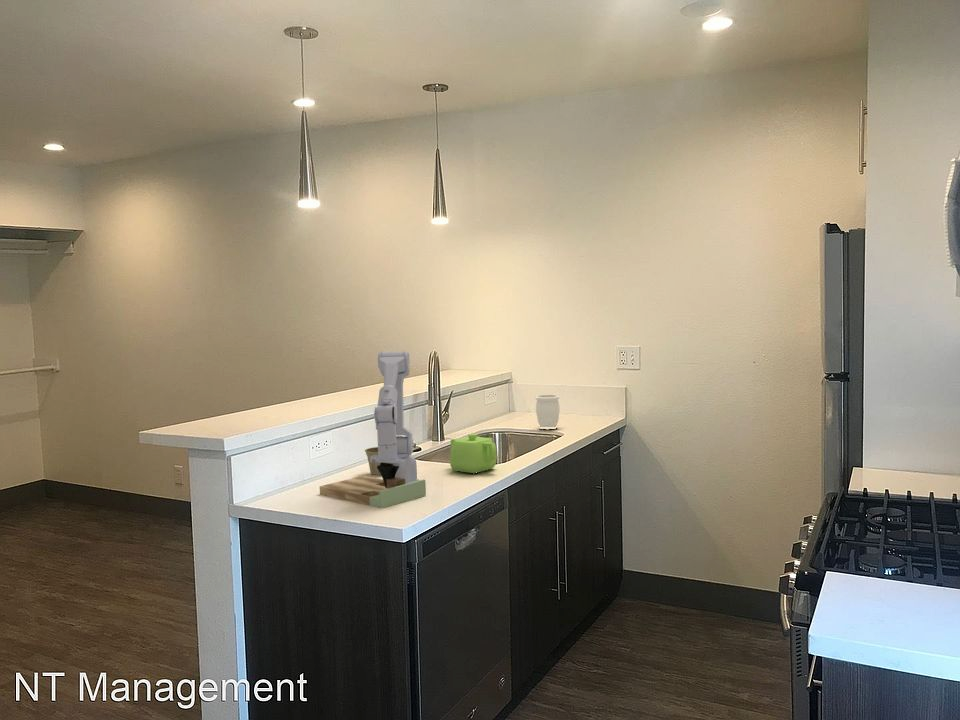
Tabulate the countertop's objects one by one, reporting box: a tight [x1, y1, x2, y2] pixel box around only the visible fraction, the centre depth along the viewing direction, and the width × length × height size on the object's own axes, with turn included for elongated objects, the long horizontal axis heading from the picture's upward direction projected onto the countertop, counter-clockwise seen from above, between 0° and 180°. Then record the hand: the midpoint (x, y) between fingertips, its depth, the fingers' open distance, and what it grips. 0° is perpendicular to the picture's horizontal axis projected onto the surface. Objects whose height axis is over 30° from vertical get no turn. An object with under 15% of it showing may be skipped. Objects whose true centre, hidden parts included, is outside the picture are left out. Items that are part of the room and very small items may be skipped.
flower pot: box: [364, 446, 381, 476], centre depth 286 cm, size 9×9×9 cm
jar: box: [535, 394, 560, 427], centre depth 367 cm, size 11×10×15 cm
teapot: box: [449, 433, 498, 474], centre depth 287 cm, size 18×20×13 cm
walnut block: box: [387, 477, 405, 489], centre depth 247 cm, size 4×4×4 cm
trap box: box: [319, 475, 427, 509], centre depth 255 cm, size 18×30×5 cm, turn 48°
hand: (389, 487), depth 250 cm, fingers closed
